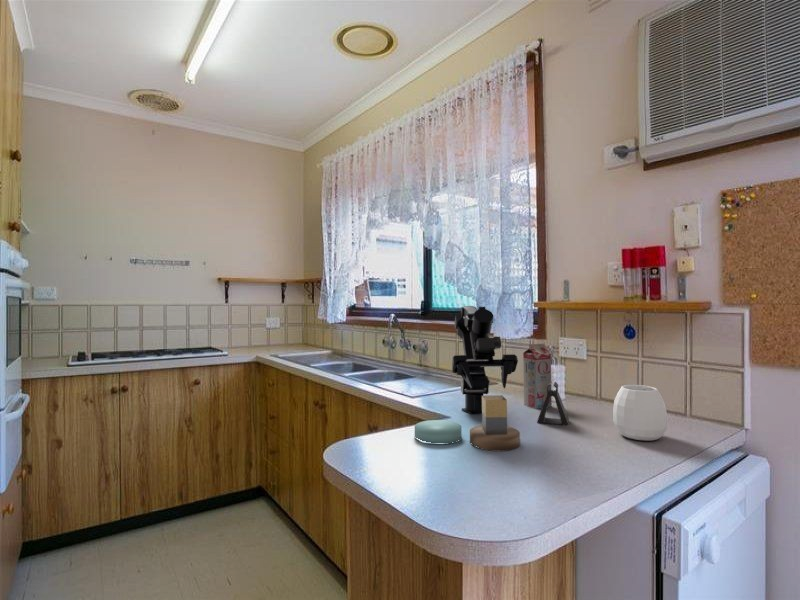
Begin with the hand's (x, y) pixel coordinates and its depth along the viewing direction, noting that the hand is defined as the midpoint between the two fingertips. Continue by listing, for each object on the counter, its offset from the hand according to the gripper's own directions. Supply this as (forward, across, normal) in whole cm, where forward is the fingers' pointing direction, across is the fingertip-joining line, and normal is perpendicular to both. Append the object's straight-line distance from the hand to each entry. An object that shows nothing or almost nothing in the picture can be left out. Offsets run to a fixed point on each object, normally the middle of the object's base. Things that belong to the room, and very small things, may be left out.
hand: (488, 387), depth 127 cm
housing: (+12, 0, +2) cm, 13 cm away
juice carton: (-13, +23, +32) cm, 42 cm away
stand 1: (+11, -15, +8) cm, 20 cm away
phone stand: (+1, +22, +18) cm, 28 cm away
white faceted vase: (+12, +40, +7) cm, 43 cm away
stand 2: (+14, 0, +4) cm, 15 cm away
